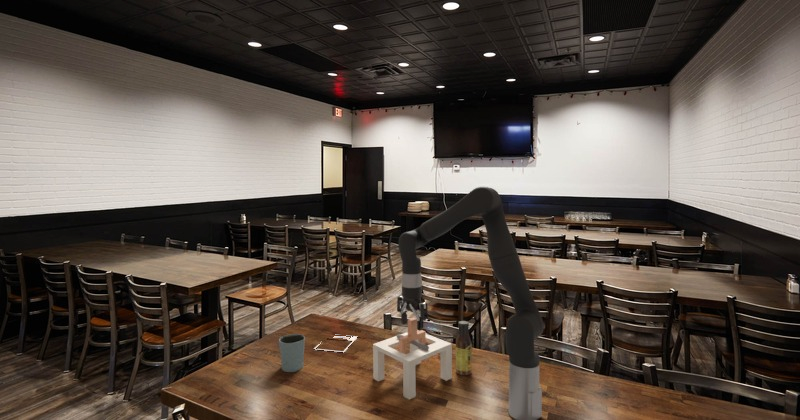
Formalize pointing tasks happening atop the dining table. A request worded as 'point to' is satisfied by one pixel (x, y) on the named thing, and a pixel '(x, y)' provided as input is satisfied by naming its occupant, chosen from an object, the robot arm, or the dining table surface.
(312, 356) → the dining table surface
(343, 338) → the white thin flat frame
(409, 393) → the small white table
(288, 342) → the blue grey cup
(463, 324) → the sauce bottle
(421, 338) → the tan wooden branched piece
